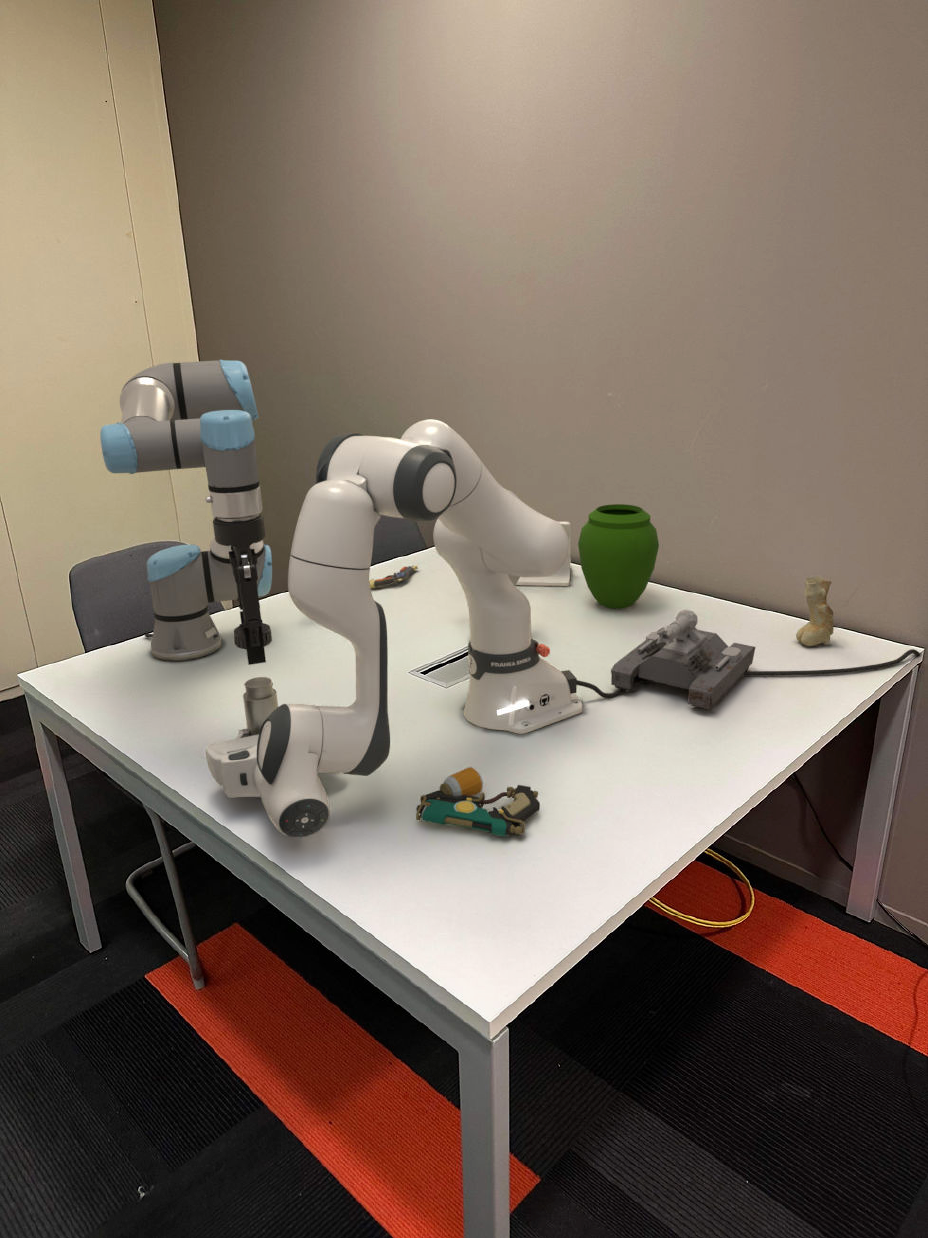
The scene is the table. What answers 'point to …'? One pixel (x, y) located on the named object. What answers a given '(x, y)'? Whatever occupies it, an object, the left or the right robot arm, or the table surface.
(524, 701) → the right robot arm
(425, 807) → the spray gun
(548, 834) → the table surface
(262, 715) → the beige cylindrical container
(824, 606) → the sculpture
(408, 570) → the multicoloured long piece
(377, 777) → the table surface
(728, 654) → the toy
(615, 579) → the vase
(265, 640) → the lid
